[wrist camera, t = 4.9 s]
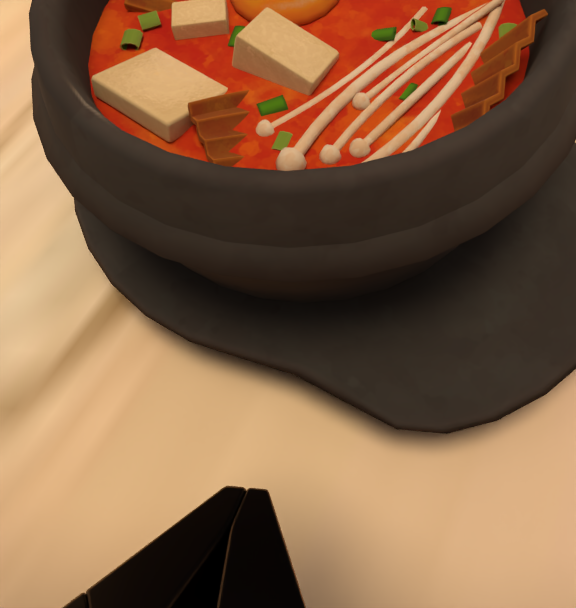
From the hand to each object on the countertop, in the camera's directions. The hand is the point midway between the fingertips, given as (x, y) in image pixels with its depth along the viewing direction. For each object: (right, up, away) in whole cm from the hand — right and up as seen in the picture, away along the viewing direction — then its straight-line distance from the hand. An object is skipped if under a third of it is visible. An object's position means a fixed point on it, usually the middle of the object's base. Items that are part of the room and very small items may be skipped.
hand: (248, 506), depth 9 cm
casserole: (+2, +10, +12) cm, 15 cm away
